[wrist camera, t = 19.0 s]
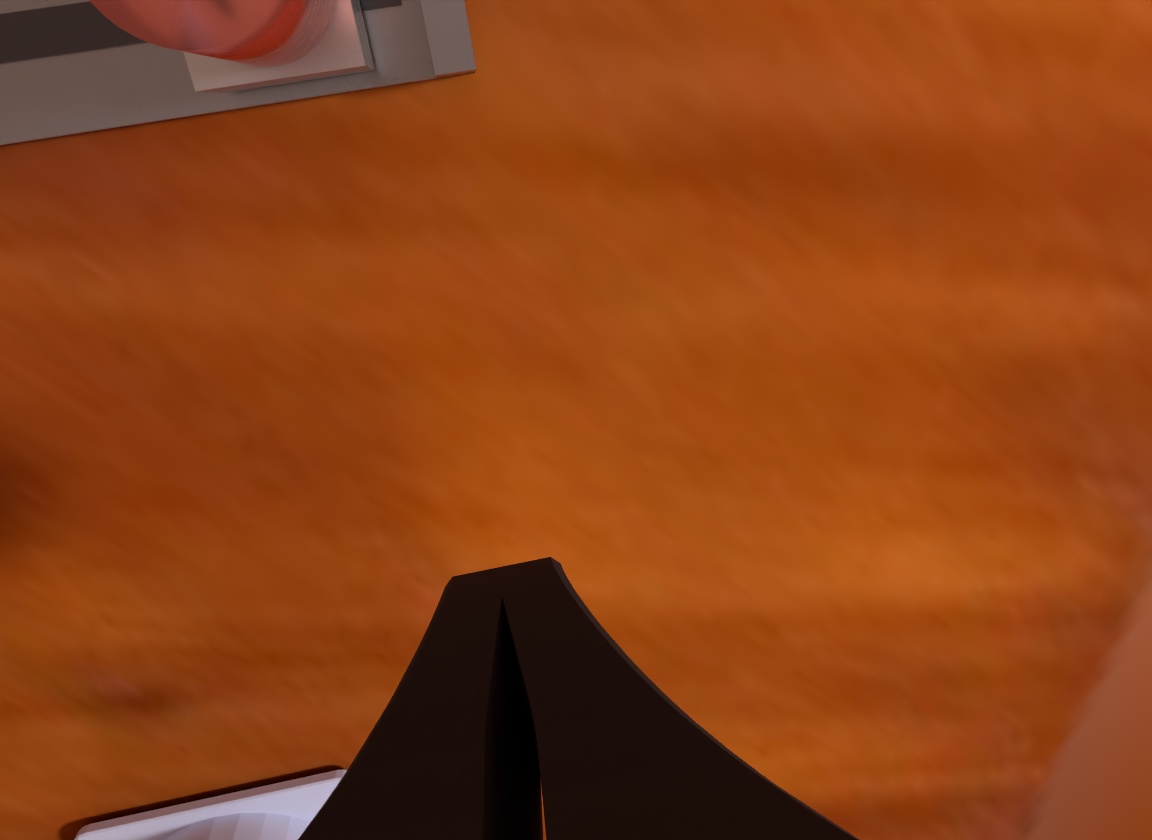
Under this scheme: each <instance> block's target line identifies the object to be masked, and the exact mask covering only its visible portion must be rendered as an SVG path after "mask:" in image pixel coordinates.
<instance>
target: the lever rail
mask: <svg viewBox="0 0 1152 840" xmlns="http://www.w3.org/2000/svg"><path fill="white" fill-rule="evenodd" d="M359 1H360V6H361V10H362V15H363V19H364V24H365V28H366V33H367V37H368V42H369V46H370V51H371V55H372V60H373V64H374V68H375V70H371V71H365V72H358V73H352V74H345V75H339V76H332V77H325V78H319V79H312V80H306V81H299V82H293V83H286V84H279V85H273V86H266V87H260V88H253V89H247V90H240V91H233V92H227V93H214V92H197V91H195V88H194V85H193V82H192V79H191V75H190V72H189V69H188V66H187V62H186V59H185V56H184V53H183V51H179V50H174V49H169V48H164V47H160V46H157V45H154V44H151V43H148V42H145V41H143V40H141V39H139V38H137V37H135V36H133V35H131V34H129V33H128V32H126V31H124V30H123V29H121V28H119V27H118V26H117V25H115V24H114V23H113V22H112V21H110V20H109V19H108V18H106V17H105V16H104V15H103V14H102V13H101V12H100V11H99V10H98V9H97V8H96V7H95V6H94V5H93V4H92V3H91V2H90V1H89V0H0V146H3V145H9V144H16V143H22V142H29V141H35V140H42V139H48V138H55V137H61V136H68V135H74V134H81V133H87V132H94V131H100V130H107V129H113V128H120V127H126V126H133V125H139V124H146V123H152V122H159V121H165V120H172V119H178V118H185V117H191V116H198V115H204V114H211V113H217V112H224V111H230V110H237V109H243V108H250V107H256V106H263V105H269V104H276V103H282V102H289V101H295V100H302V99H308V98H315V97H321V96H328V95H334V94H341V93H347V92H354V91H360V90H367V89H373V88H380V87H386V86H393V85H399V84H406V83H412V82H419V81H425V80H432V79H438V78H444V77H451V76H457V75H464V74H470V73H475V71H476V65H475V59H474V53H473V48H472V42H471V36H470V31H469V25H468V19H467V14H466V8H465V2H464V0H359Z"/></svg>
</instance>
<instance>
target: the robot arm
mask: <svg viewBox="0 0 1152 840" xmlns="http://www.w3.org/2000/svg"><path fill="white" fill-rule="evenodd" d="M540 776H541V777H540ZM541 786H542V796H543V806H544V817H545V828H546V839H547V840H859V839H857V838H856V837H854V836H853V835H851V834H850V833H848V832H847V831H845V830H844V829H842V828H841V827H839V826H838V825H836V824H835V823H833V822H831V821H830V820H828V819H827V818H825V817H824V816H822V815H821V814H819V813H818V812H816V811H815V810H813V809H812V808H810V807H809V806H807V805H806V804H804V803H803V802H801V801H800V800H798V799H797V798H795V797H793V796H792V795H790V794H789V793H787V792H786V791H784V790H783V789H781V788H780V787H778V786H777V785H775V784H774V783H772V782H771V781H770V780H768V779H767V778H765V777H764V776H763V775H762V774H760V773H759V772H758V771H756V770H755V769H754V768H752V767H751V766H750V765H748V764H747V763H746V762H744V761H743V760H742V759H740V758H739V757H738V756H736V755H735V754H734V753H733V752H731V751H730V750H729V749H727V748H726V747H725V746H724V745H722V744H721V743H720V742H719V741H718V740H716V739H715V738H714V737H713V736H712V735H710V734H709V733H708V732H707V731H705V730H704V729H703V728H702V727H701V726H699V725H698V724H697V723H696V722H695V721H694V720H693V719H691V718H690V717H689V716H688V715H687V714H686V713H685V712H684V711H682V710H681V709H680V708H679V707H678V706H677V705H676V704H675V703H674V702H673V701H672V700H671V699H669V698H668V697H667V696H666V695H665V694H664V693H663V692H662V691H661V690H660V689H659V688H658V687H657V686H656V685H655V684H654V683H653V682H652V681H651V680H650V679H649V678H648V677H647V676H646V675H645V674H644V673H643V672H642V671H641V670H640V669H639V668H638V667H637V666H636V665H635V664H634V662H633V661H632V660H631V659H630V658H629V657H628V656H627V655H626V654H625V653H624V652H623V650H622V649H621V648H620V647H619V646H618V645H617V643H616V642H615V641H614V640H613V639H612V638H611V637H610V635H609V634H608V633H607V632H606V631H605V630H604V628H603V627H602V626H601V625H600V624H599V622H598V621H597V620H596V619H595V617H594V616H593V615H592V613H591V612H590V611H589V609H588V608H587V607H586V605H585V604H584V603H583V601H582V600H581V598H580V597H579V596H578V594H577V593H576V591H575V590H574V588H573V587H572V585H571V583H570V582H569V580H568V578H567V576H566V575H565V573H564V571H563V569H562V566H561V564H560V563H559V562H557V561H556V560H554V559H553V558H551V557H548V558H543V559H538V560H533V561H528V562H523V563H518V564H513V565H508V566H503V567H498V568H494V569H489V570H484V571H479V572H474V573H469V574H464V575H459V576H454V577H452V578H451V580H450V581H449V582H448V584H447V585H446V586H445V589H444V591H443V594H442V596H441V599H440V601H439V604H438V606H437V608H436V611H435V613H434V615H433V618H432V620H431V622H430V624H429V626H428V628H427V631H426V633H425V635H424V637H423V639H422V641H421V643H420V645H419V647H418V649H417V651H416V653H415V655H414V657H413V659H412V661H411V663H410V665H409V666H408V668H407V670H406V672H405V674H404V676H403V678H402V680H401V682H400V683H399V685H398V687H397V689H396V691H395V693H394V695H393V696H392V698H391V700H390V702H389V703H388V705H387V707H386V709H385V710H384V712H383V713H382V715H381V717H380V718H379V720H378V722H377V723H376V725H375V727H374V728H373V730H372V732H371V733H370V735H369V736H368V738H367V740H366V741H365V743H364V745H363V746H362V748H361V750H360V751H359V753H358V754H357V756H356V758H355V759H354V761H353V762H352V764H351V765H350V767H349V768H348V770H335V771H330V772H325V773H321V774H316V775H312V776H307V777H302V778H298V779H293V780H289V781H284V782H280V783H275V784H270V785H266V786H261V787H257V788H252V789H248V790H243V791H238V792H234V793H229V794H225V795H220V796H216V797H211V798H206V799H202V800H197V801H193V802H188V803H183V804H179V805H174V806H170V807H165V808H161V809H156V810H151V811H147V812H142V813H138V814H133V815H129V816H124V817H119V818H115V819H110V820H106V821H101V822H96V823H92V824H88V825H86V826H83V827H82V828H81V829H80V830H79V831H78V833H77V835H76V837H75V839H74V840H543V825H542V800H541Z"/></svg>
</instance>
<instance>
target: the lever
mask: <svg viewBox="0 0 1152 840" xmlns="http://www.w3.org/2000/svg"><path fill="white" fill-rule="evenodd" d="M89 1H90V2H91V3H92V4H93V5H94V6H95V7H96V8H97V9H98V10H99V11H100V12H101V13H102V14H103V15H104V16H105V17H106V18H108V19H109V20H110V21H112V22H113V23H114V24H115V25H117V26H118V27H119V28H121V29H123V30H124V31H126V32H128V33H129V34H131V35H133V36H135V37H137V38H139V39H141V40H143V41H145V42H148V43H151V44H154V45H157V46H160V47H164V48H169V49H174V50H179V51H183V53H184V56H185V59H186V62H187V66H188V69H189V72H190V75H191V79H192V82H193V85H194V88H195V91H197V92H214V93H227V92H233V91H240V90H247V89H253V88H260V87H266V86H273V85H279V84H286V83H293V82H299V81H306V80H312V79H319V78H325V77H332V76H339V75H345V74H352V73H358V72H365V71H371V70H375V68H374V64H373V60H372V55H371V51H370V46H369V42H368V37H367V33H366V28H365V24H364V19H363V15H362V10H361V6H360V1H359V0H89Z"/></svg>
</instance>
